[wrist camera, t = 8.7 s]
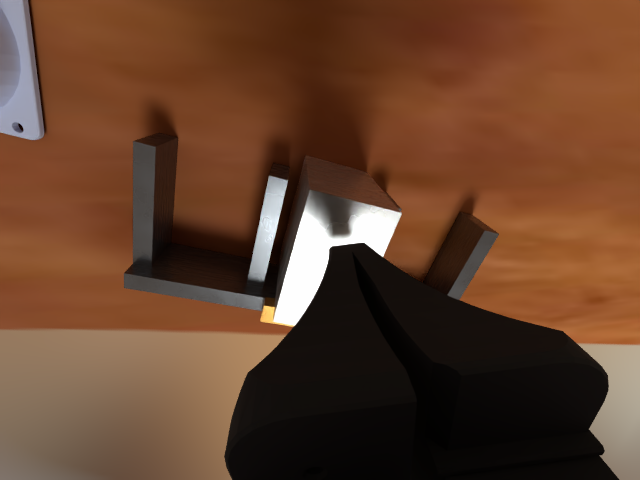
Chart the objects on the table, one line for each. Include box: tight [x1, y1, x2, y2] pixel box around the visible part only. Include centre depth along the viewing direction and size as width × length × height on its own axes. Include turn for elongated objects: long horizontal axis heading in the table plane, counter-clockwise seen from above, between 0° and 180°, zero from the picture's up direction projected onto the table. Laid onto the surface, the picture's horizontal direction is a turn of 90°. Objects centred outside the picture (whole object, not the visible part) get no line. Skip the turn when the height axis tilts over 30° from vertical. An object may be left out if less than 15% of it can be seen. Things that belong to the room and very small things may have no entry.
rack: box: [124, 133, 499, 327], centre depth 18 cm, size 20×8×5 cm, turn 74°
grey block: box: [273, 155, 402, 325], centre depth 16 cm, size 4×7×7 cm, turn 164°
